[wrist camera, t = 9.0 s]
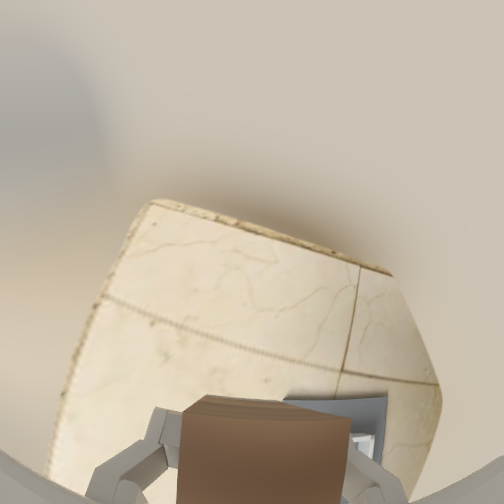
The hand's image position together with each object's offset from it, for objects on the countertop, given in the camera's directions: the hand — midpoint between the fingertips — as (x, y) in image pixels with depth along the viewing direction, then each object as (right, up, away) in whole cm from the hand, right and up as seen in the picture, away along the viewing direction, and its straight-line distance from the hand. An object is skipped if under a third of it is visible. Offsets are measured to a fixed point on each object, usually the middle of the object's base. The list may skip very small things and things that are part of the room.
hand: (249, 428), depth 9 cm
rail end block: (-1, -3, +5) cm, 6 cm away
